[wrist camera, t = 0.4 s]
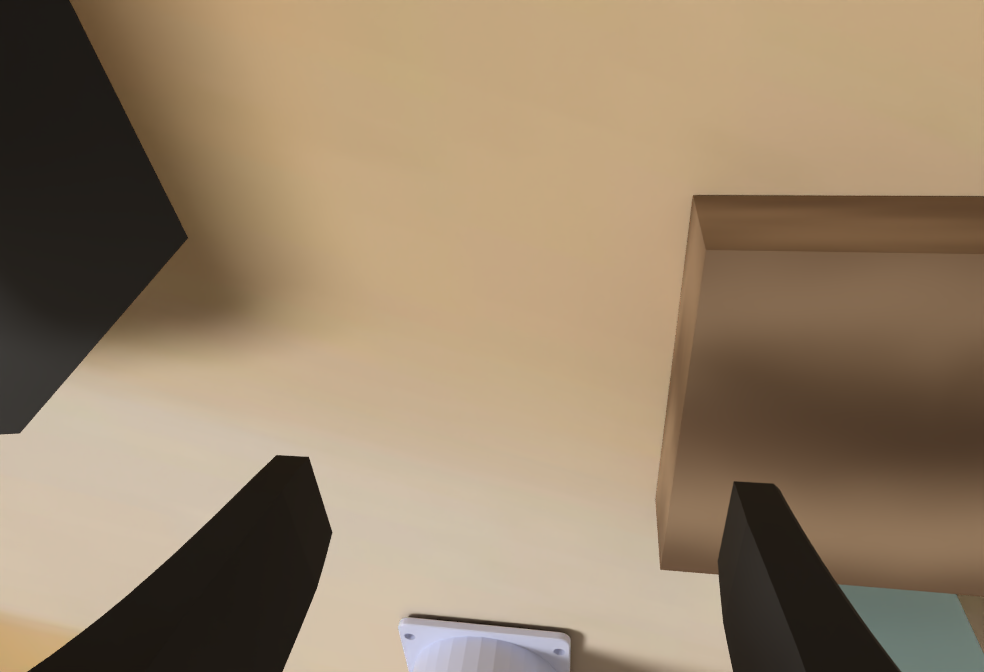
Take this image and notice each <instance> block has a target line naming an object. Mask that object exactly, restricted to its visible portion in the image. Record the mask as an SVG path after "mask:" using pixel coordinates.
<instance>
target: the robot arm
mask: <svg viewBox="0 0 984 672" xmlns="http://www.w3.org/2000/svg"><path fill="white" fill-rule="evenodd" d="M331 535H332V530H331V527H330V524H329V520H328V517H327V514H326V511H325V508H324V504H323V501H322V498H321V495H320V492H319V488H318V485H317V482H316V479H315V476H314V472H313V469H312V466H311V463H310V460H309V457H299V456H281V455H276V456H275V457H274V458H273V459H272V460H271V461H270V462H269V463H268V464H267V465H266V466H265V467H264V468H263V469H262V470H260V471H259V472H258V473H257V474H256V475H255V476H254V477H253V478H252V479H251V480H250V481H249V482H248V483H247V484H246V485H245V486H244V487H243V488H242V489H241V490H240V491H239V492H238V493H237V494H236V495H235V496H234V497H233V498H232V499H231V500H230V501H229V502H228V503H227V504H226V505H225V506H224V507H223V508H222V509H221V510H220V511H219V512H218V513H217V514H216V515H215V516H214V517H213V518H212V519H211V520H209V521H208V522H207V523H206V524H205V525H204V526H203V527H202V528H201V529H200V530H199V531H198V532H197V533H196V534H195V535H194V536H193V537H192V538H191V539H189V540H188V541H187V542H186V543H185V544H184V545H183V546H182V547H181V548H180V549H179V550H178V551H177V552H176V553H175V554H174V555H172V556H171V557H170V558H169V559H168V560H167V561H166V562H165V563H164V564H162V565H161V566H160V567H159V568H158V569H157V570H156V571H155V572H153V573H152V574H151V575H150V576H149V577H148V578H147V579H145V580H144V581H143V582H142V583H141V584H140V585H139V586H137V587H136V588H135V589H134V590H133V591H132V592H131V593H130V594H128V595H127V596H126V597H125V598H124V599H122V600H121V601H120V602H119V603H118V604H116V605H115V606H114V607H113V608H112V609H110V610H109V611H108V612H107V613H105V614H104V615H103V616H102V617H100V618H99V619H98V620H97V621H95V622H94V623H93V624H92V625H90V626H89V627H88V628H86V629H85V630H84V631H82V632H81V633H80V634H79V635H77V636H76V637H75V638H73V639H72V640H71V641H69V642H68V643H67V644H66V645H64V646H63V647H62V648H60V649H59V650H57V651H56V652H55V653H53V654H52V655H51V656H49V657H48V658H46V659H45V660H44V661H42V662H41V663H39V664H38V665H36V666H35V667H33V668H32V669H31V670H29V671H28V672H282V671H283V669H284V667H285V664H286V662H287V660H288V657H289V655H290V652H291V650H292V648H293V645H294V643H295V640H296V638H297V636H298V633H299V631H300V628H301V626H302V624H303V621H304V619H305V616H306V614H307V611H308V609H309V606H310V604H311V602H312V599H313V597H314V594H315V591H316V589H317V586H318V583H319V579H320V576H321V572H322V569H323V566H324V562H325V558H326V554H327V551H328V547H329V543H330V539H331ZM718 572H719V583H720V595H721V605H722V615H723V624H724V629H725V634H726V639H727V644H728V649H729V654H730V659H731V664H732V669H733V672H901V671H900V669H899V668H898V667H897V665H896V664H895V663H894V661H893V660H892V659H891V658H890V656H889V655H888V654H887V652H886V651H885V650H884V648H883V647H882V646H881V644H880V643H879V642H878V640H877V639H876V638H875V636H874V635H873V634H872V632H871V631H870V629H869V628H868V627H867V625H866V624H865V623H864V621H863V620H862V618H861V617H860V616H859V614H858V613H857V611H856V610H855V608H854V607H853V605H852V604H851V603H850V601H849V600H848V598H847V597H846V595H845V594H844V592H843V591H842V589H841V588H840V587H839V585H838V584H837V582H836V581H835V579H834V578H833V576H832V575H831V573H830V572H829V570H828V569H827V567H826V566H825V564H824V563H823V561H822V559H821V558H820V556H819V555H818V553H817V552H816V550H815V548H814V547H813V545H812V544H811V542H810V540H809V539H808V537H807V536H806V534H805V532H804V531H803V529H802V527H801V526H800V524H799V522H798V521H797V519H796V517H795V516H794V514H793V512H792V510H791V509H790V507H789V505H788V503H787V502H786V500H785V498H784V496H783V495H782V493H781V491H780V489H779V488H778V487H777V486H776V485H775V484H774V483H756V482H738V481H734V482H733V487H732V492H731V497H730V502H729V507H728V512H727V517H726V522H725V527H724V532H723V537H722V542H721V547H720V552H719V556H718ZM398 630H399V634H400V638H401V642H402V646H403V650H404V654H405V658H406V662H407V666H408V670H409V672H570V650H571V639H570V637H569V636H568V635H567V634H565V633H561V632H553V631H543V630H533V629H523V628H513V627H503V626H492V625H482V624H472V623H462V622H452V621H442V620H432V619H421V618H411V617H405V618H402V619H401V620H400V622H399V626H398Z"/></svg>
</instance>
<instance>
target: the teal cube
mask: <svg viewBox="0 0 984 672" xmlns="http://www.w3.org/2000/svg"><path fill="white" fill-rule="evenodd" d="M838 585H839V584H838ZM839 587H840V588H841V589H842V591H843V592H844V594H845V595H846V597H847V598H848V600H849V601H850V603H851V604H852V605H853V607H854V608H855V610H856V611H857V613H858V614H859V616H860V617H861V618H862V620H863V621H864V623H865V624H866V625H867V627H868V628H869V629H870V631H871V632H872V634H873V635H874V636H875V638H876V639H877V640H878V642H879V643H880V644H881V646H882V647H883V648H884V650H885V651H886V652H887V654H888V655H889V656H890V658H891V659H892V660H893V661H894V663H895V664H896V665H897V667H898V668H899V669H900V671H901V672H984V653H983V651H982V649H981V647H980V644H979V642H978V640H977V638H976V636H975V634H974V631H973V629H972V627H971V625H970V623H969V621H968V618H967V616H966V614H965V612H964V610H963V608H962V605H961V603H960V601H959V599H958V597H957V595H956V594H948V593H936V592H924V591H912V590H900V589H887V588H875V587H863V586H851V585H839Z"/></svg>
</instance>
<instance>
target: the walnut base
mask: <svg viewBox="0 0 984 672" xmlns="http://www.w3.org/2000/svg"><path fill="white" fill-rule="evenodd" d="M734 481H738V482H756V483H774V484H775V485H776V486H777V487H778V488H779V489H780V491H781V493H782V495H783V496H784V498H785V500H786V502H787V503H788V505H789V507H790V509H791V510H792V512H793V514H794V516H795V517H796V519H797V521H798V522H799V524H800V526H801V527H802V529H803V531H804V532H805V534H806V536H807V537H808V539H809V540H810V542H811V544H812V545H813V547H814V548H815V550H816V552H817V553H818V555H819V556H820V558H821V559H822V561H823V563H824V564H825V566H826V567H827V569H828V570H829V572H830V573H831V575H832V576H833V578H834V579H835V581H836V582H837V584H839V585H851V586H863V587H875V588H887V589H900V590H912V591H924V592H936V593H948V594H960V595H972V596H984V197H953V196H693V199H692V207H691V215H690V223H689V232H688V240H687V248H686V256H685V264H684V272H683V280H682V288H681V296H680V305H679V313H678V321H677V329H676V337H675V345H674V353H673V361H672V370H671V378H670V386H669V394H668V402H667V410H666V418H665V426H664V434H663V443H662V451H661V459H660V467H659V475H658V483H657V491H656V499H655V500H656V514H657V528H658V543H659V557H660V570H671V571H683V572H695V573H707V574H719V572H718V556H719V552H720V547H721V542H722V537H723V532H724V527H725V522H726V517H727V512H728V507H729V502H730V497H731V492H732V487H733V482H734Z"/></svg>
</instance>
